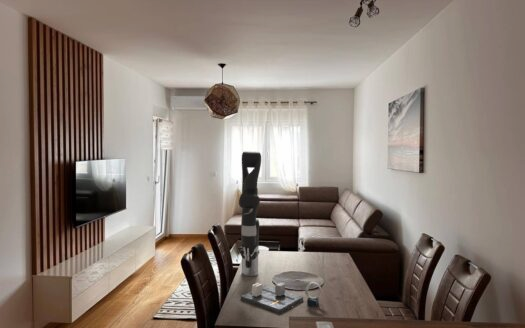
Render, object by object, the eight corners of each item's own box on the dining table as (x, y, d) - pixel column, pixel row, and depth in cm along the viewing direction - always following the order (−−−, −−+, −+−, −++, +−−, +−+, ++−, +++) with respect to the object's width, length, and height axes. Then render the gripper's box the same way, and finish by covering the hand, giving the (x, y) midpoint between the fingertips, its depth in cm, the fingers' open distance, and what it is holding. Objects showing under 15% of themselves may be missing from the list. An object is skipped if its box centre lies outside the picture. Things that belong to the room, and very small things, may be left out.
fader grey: (275, 294, 186) (275, 284, 186) (280, 292, 190) (280, 282, 190) (279, 296, 185) (280, 286, 184) (285, 293, 188) (285, 283, 188)
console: (240, 299, 185) (240, 295, 185) (265, 288, 201) (265, 284, 201) (279, 313, 170) (279, 309, 170) (303, 300, 186) (303, 296, 186)
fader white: (251, 295, 186) (252, 284, 185) (257, 292, 189) (257, 282, 189) (256, 296, 184) (256, 286, 183) (262, 293, 187) (262, 284, 187)
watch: (305, 301, 185) (306, 279, 185) (321, 303, 182) (322, 281, 182) (303, 305, 180) (303, 282, 180) (319, 308, 177) (320, 285, 177)
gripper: (234, 233, 190) (233, 266, 191) (254, 237, 182) (253, 272, 183) (244, 230, 196) (243, 263, 197) (263, 234, 188) (263, 268, 188)
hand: (248, 267), depth 190 cm, fingers closed
